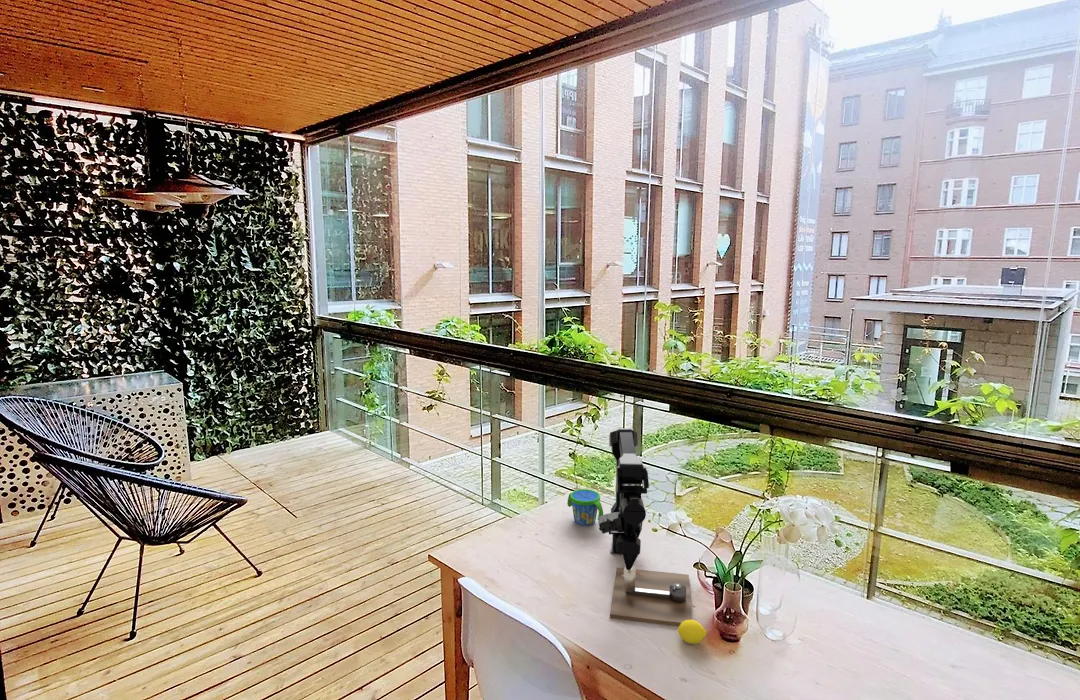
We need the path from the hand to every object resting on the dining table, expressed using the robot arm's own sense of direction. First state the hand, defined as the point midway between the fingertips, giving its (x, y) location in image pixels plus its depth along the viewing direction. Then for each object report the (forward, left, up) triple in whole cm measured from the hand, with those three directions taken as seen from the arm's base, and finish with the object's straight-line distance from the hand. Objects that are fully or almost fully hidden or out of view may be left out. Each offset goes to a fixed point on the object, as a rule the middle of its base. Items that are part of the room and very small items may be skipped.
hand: (629, 560), depth 156 cm
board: (-1, +6, -11) cm, 13 cm away
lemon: (+15, +16, -12) cm, 25 cm away
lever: (0, +7, -10) cm, 12 cm away
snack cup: (-43, -18, -11) cm, 48 cm away
